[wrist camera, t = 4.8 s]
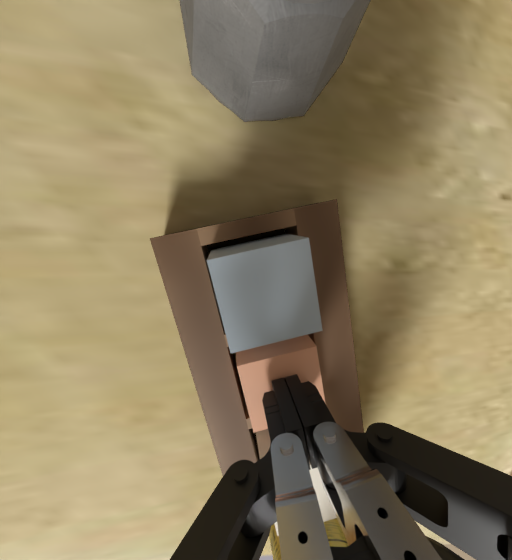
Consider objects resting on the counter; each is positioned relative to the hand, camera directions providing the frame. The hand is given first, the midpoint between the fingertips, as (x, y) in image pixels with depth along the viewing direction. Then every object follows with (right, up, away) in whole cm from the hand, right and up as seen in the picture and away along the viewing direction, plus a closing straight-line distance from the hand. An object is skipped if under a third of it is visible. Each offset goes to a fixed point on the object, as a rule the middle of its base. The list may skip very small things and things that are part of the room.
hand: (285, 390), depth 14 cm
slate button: (-2, +6, +1) cm, 7 cm away
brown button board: (-1, +1, +4) cm, 5 cm away
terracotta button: (-1, +1, +4) cm, 4 cm away
